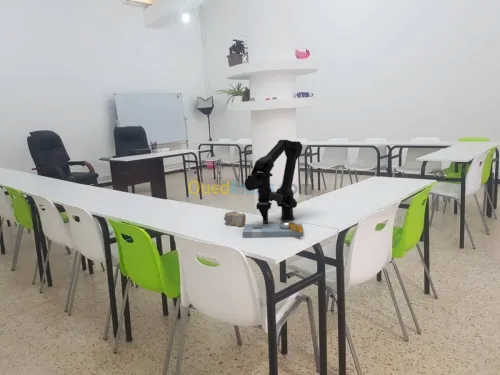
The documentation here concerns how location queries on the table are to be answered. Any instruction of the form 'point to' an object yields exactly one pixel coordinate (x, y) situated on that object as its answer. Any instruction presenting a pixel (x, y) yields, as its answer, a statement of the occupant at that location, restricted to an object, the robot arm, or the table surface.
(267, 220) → the pin
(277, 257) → the table surface
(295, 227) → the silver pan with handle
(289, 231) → the plate
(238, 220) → the mineral specimen
